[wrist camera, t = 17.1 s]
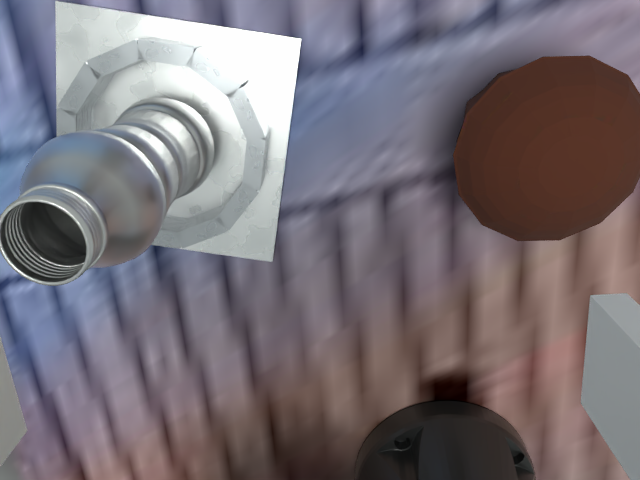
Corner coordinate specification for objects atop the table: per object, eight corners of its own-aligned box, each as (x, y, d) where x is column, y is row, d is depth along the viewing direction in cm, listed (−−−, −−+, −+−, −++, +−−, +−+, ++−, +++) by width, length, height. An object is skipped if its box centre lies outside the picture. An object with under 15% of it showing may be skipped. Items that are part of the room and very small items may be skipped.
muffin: (577, 18, 39) (654, 19, 30) (624, 166, 43) (706, 209, 33) (410, 98, 41) (433, 123, 32) (468, 233, 45) (504, 292, 35)
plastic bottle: (176, 204, 43) (57, 349, 25) (106, 134, 42) (-79, 232, 23) (240, 146, 42) (165, 255, 23) (170, 71, 40) (28, 121, 21)
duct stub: (273, 257, 46) (268, 278, 42) (63, 226, 45) (39, 246, 41) (301, 38, 40) (298, 41, 36) (62, 1, 40) (33, 0, 36)
